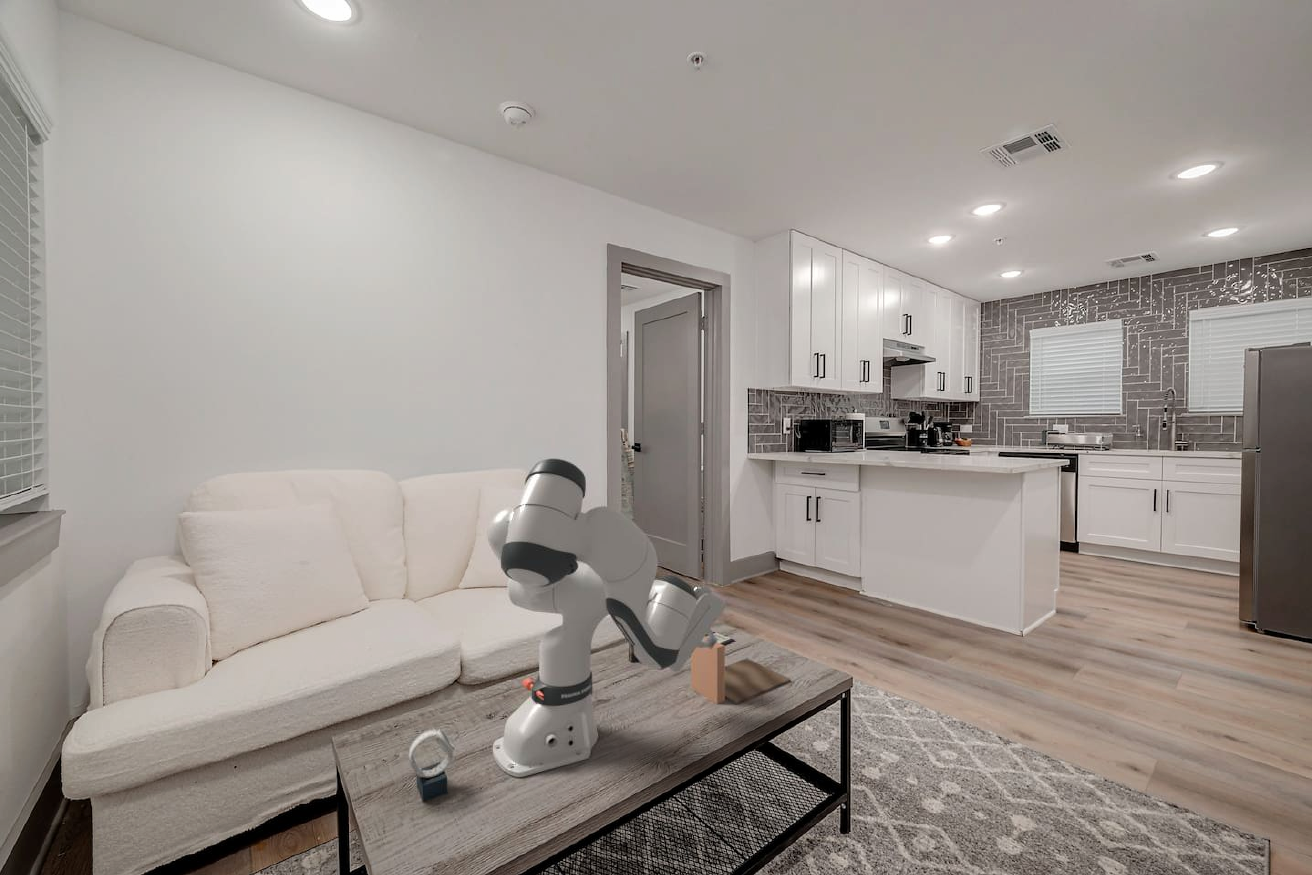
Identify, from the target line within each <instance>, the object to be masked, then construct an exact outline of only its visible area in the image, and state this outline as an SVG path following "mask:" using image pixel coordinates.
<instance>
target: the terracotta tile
mask: <svg viewBox="0 0 1312 875" xmlns="http://www.w3.org/2000/svg"><path fill="white" fill-rule="evenodd" d="M706 639H707V637H705V636H704V638H703V639H702V641H705V640H706ZM725 648H726V645H725V646H724V645H722V644H720V643H718V642H716V643H715V645H714V646H713V648H712V649H709V648H708V647H705V648H699V647H697V648H696V649H695V650H694V652H693V653H692V654H691V656H690V688H691V689H692V690H693V691H695V692H697V693H698V694H700V695H701V696H703V697H705V698H707V700H709V701H712V702H713V703H714V704H716V705H719V704H720V703H721V704H722V703H723V702H725V699H726V698H725V666H726V663H725V661H726V659H725V658H726V657H725V654H726V653H725V650H726V649H725Z"/></svg>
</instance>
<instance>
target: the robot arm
mask: <svg viewBox="0 0 1312 875" xmlns="http://www.w3.org/2000/svg"><path fill="white" fill-rule="evenodd" d="M586 486H587V482H586V476H585V474H584V472H583V471H582V470H581V469H580V468H579V467H578V466H577V465H575V464H573V463H572V462H570V461H567V460H564V459H560V458H547V459H546V458H545V459H544V460H540V461H538V462H536V464H535V465H534V466H533V467H532V468H531V470H530V471H529V473H528V474H527V476H526V478H525V480H524V486H523V488H522V490H521V492H520V493H519V496H518V498H517V501H516V503H515V505H511V506H508V507H505V508H503V509H501V510H499V511H498V512H497V513H496V514H495V515H494V516H493V517H492V518H491V520H490V522H489V524H488V526H487V533H486V534H487V535H486V536H487V541H488V543H489V546H490V549H491V550H492V552H493V554H494V556H496V558H497V560H498V561H499V562H500V568H501V570H502V571H503V573H504V574H505V576H507V577H508V579H507V583H506V584H507V585H506V586H507V587H506V590H507V595H508V598H509V600H510V602H511V603H512V605H513V606H515V607H519V608H522V609H524V610H528V611H531V612H539V613H547V614H548V613H549V614H556V615H557V614H558V615H561V617H562V624H560V625H559V626H556V627H555V628H552V629H550V630H549V631H547V632H546V633H545V634H544V635H543V637H542V638H541V640H540V643H539V647H538V654H539V655H538V665H539V666H538V668H539V669H538V672H539V674H538V675H537V678H536V680H535V682H534V681H533V680H532V679H531V678H525V679H524V681H523V682H522V685H523V686H522V687H524V689H526V691H529V692H530V691H531V695H530V696H529V697H528V698H527V699H526V700H525V701H524V702H523V703H522V704H521V705H520V706H519V707H518V708H517V709H516V710H515V711H514V712H513V713H512V714H511V715H510V716H509V717H508V718H507V719H506V722H505V726H504V731H503V736H502V737H499V738H498V739H496V740H494V742H493V745H492V756H493V759H494V761H495V763H496V765H498V766H499V768H500V770H502V771H503V772H504V773H506V774H508V775H510V776H512V777H516V778H523V777H526V776H530V775H533V774H538V773H541V772H545V771H548V770H551V769H555V768H559V767H562V766H566V765H570V764H573V763H577V762H581V761H584V760H587V759H589V758H590V756H591V753H592V749H593V747H594V746H595V744H596V743H597V742H598V739H599V732H598V729H597V725H596V721H595V717H594V711H593V709H594V708H593V702H592V695H593V688H594V687H593V671H592V670H591V652H592V651H591V650H592V641H593V636H594V634H595V631H596V629H597V628H598V626H599V624H601V622H602V621H603V620H604V619H605V618H607V616H608V615H610V617H611V619H612V621H613V622H614V623H615V625H616V627H617V628H618V629H619V631H620V632H621V633H622V635H623V636H624V638H625V639H626V641H627V642H628V644H630V647H631V650H632V652H633V654H634V656H635V657H636V658H637V659H638V660H639V661H638V662H640V663H642V664H643V665H645V666H646V667H649V668H652V669H655V670H661V671H662V670H664V669H667V668H669V669H670V670H672V671H673V672H678V671H681V670H682V669H683V667H684V665H685V664H686V663H687V661H688V660H689V659H690V658H691V654H692V653H693V652H694V650H695V649H696V648H697V647H699V648H705V647H708V648H709V649H712V648H713V646H714V645H715V643H716V642H717V641H718V639H717V638H716V637H715V636H714V635H713V632H714V631H713V630H712V629H711V628H712V626H713V625H714V624H715V622H716V621H717V620H718V618H719V617H720V616H721V614H722V613H723V611H724V610H725V609H726V607H727V603H726V601H725V599H724V598H723V597H722V596H720V595H719V594H718V593H716V592H714V591H712V589H711V588H710V587H709V586H707V584H704V583H703V584H700V585H698V586H695V588H693V586H692V585H691V584H688V582H686V581H685V580H684V579H681V578H680V577H677V576H675V575H672V574H667V575H662V576H660V577H656V576H657V574H658V573H657V571H658V565H659V562H658V556H657V552H656V548H655V547H654V544H653V542H652V541H651V540H650V538H649V537H648V536H647V535H646V533H645V532H644V531H643V530H642V529H641V528H640V527H639V526H638V525H637V523H635V522H634V521H633V520H632V519H630V518H629V517H628V516H627V515H625V514H624V513H623V512H620V511H619V510H618V509H615V508H613V507H611V506H607V505H605V506H604V505H603V506H602V505H601V506H596V507H593V508H590V509H589V510H588V511H586V512H582V507H583V499H584V498H585V497H586V491H587V488H586ZM706 634H707V635H709V636H708V638H707V639H706V640H705V641H702V639H703V638H704V636H705V635H706Z"/></svg>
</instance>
